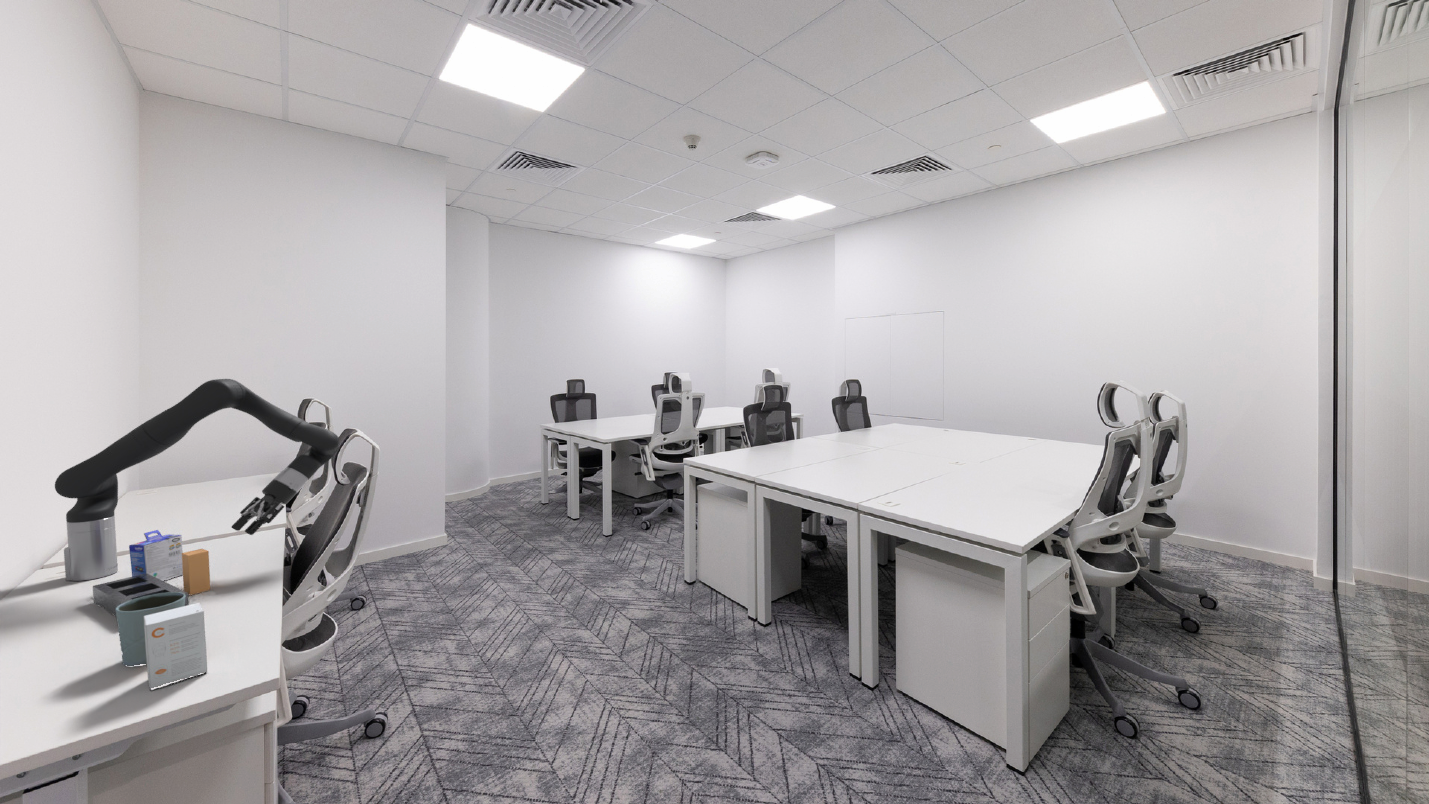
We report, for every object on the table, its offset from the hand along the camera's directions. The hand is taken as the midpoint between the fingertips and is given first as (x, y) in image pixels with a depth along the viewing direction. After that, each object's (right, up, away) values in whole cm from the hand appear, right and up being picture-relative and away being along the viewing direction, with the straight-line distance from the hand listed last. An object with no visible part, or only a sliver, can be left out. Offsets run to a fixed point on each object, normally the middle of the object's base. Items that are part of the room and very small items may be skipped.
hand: (241, 531), depth 154 cm
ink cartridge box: (-23, -14, -1) cm, 27 cm away
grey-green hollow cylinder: (+19, -16, -42) cm, 49 cm away
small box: (+32, -17, -50) cm, 61 cm away
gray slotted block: (-10, -15, -18) cm, 25 cm away
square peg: (-5, -14, -8) cm, 17 cm away
